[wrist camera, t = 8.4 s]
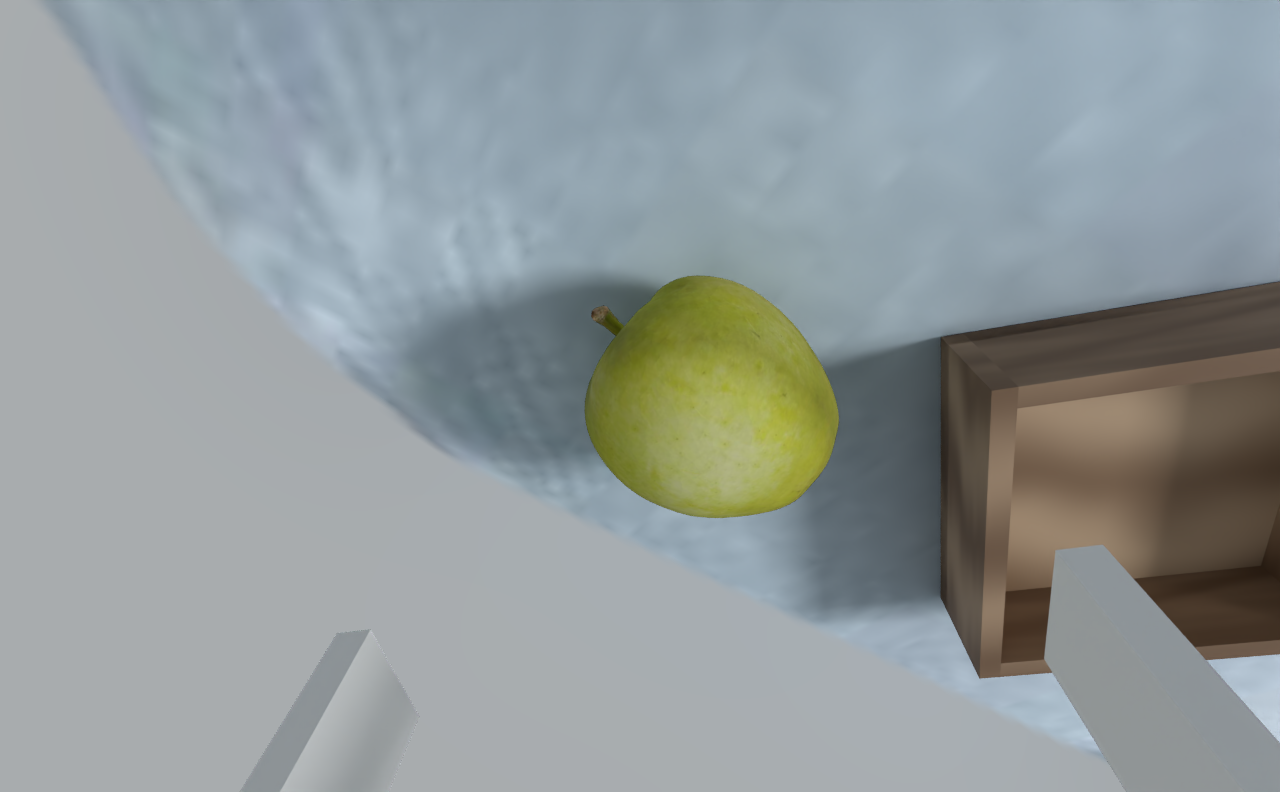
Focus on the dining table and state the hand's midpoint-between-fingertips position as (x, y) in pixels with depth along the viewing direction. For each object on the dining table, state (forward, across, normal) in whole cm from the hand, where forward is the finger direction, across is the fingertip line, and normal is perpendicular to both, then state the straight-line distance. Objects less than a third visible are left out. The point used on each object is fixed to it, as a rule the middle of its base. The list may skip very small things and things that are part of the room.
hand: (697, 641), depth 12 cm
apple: (+14, 0, 0) cm, 14 cm away
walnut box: (+14, +16, -8) cm, 23 cm away
